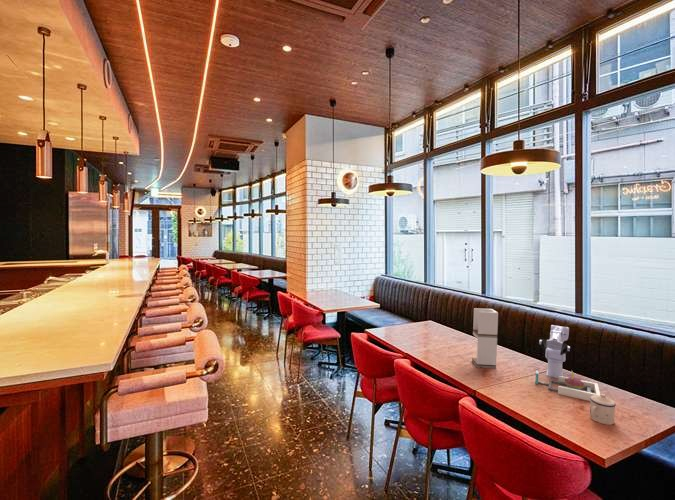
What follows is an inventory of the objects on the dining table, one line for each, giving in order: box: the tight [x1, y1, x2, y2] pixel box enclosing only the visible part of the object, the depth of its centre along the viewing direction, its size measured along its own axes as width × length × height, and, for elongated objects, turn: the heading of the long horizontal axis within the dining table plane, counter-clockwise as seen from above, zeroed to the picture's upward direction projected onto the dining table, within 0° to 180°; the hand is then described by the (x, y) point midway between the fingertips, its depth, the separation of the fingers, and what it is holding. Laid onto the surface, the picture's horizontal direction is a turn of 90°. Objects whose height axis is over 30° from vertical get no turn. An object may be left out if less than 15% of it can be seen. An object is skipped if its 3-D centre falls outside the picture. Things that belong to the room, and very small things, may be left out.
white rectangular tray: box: [557, 375, 601, 402], centre depth 179 cm, size 17×18×4 cm
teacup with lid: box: [589, 393, 617, 426], centre depth 152 cm, size 12×9×12 cm
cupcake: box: [565, 370, 584, 391], centre depth 180 cm, size 9×8×12 cm
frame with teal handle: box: [535, 370, 592, 393], centre depth 183 cm, size 13×25×6 cm, turn 56°
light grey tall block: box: [471, 307, 499, 369], centre depth 216 cm, size 11×11×35 cm
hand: (552, 351), depth 184 cm, fingers open, 7 cm apart
